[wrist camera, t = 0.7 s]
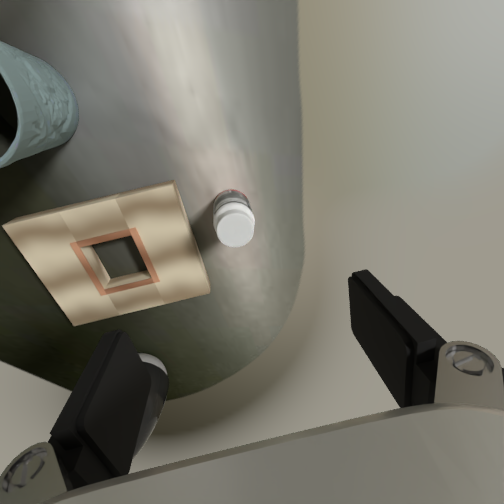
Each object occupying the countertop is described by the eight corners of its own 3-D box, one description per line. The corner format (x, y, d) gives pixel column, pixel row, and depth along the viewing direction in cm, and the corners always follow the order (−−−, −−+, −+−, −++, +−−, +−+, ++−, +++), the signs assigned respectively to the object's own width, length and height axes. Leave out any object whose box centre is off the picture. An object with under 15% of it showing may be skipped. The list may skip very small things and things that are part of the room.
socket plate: (15, 217, 34) (1, 226, 31) (174, 179, 34) (171, 185, 32) (81, 314, 42) (73, 326, 39) (210, 283, 42) (210, 293, 39)
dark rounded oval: (134, 333, 44) (100, 430, 31) (184, 361, 49) (173, 458, 36) (96, 366, 47) (50, 470, 34) (147, 391, 51) (123, 491, 38)
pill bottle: (245, 225, 38) (252, 254, 31) (211, 219, 37) (209, 248, 30) (252, 192, 36) (262, 214, 29) (216, 185, 35) (217, 206, 28)
